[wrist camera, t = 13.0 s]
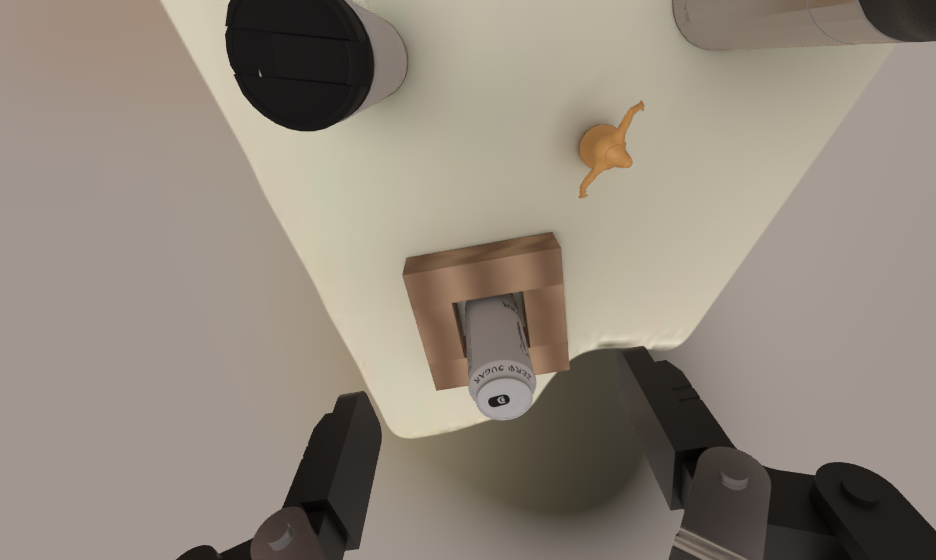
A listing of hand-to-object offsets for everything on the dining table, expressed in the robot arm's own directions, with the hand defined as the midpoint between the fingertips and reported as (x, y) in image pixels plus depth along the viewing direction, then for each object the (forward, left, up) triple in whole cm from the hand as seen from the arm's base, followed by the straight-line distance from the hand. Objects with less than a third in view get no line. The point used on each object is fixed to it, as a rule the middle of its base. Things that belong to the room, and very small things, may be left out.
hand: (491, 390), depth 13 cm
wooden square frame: (0, +17, -30) cm, 34 cm away
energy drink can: (0, +16, -30) cm, 35 cm away
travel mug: (+6, -10, -30) cm, 33 cm away
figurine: (-12, 0, -30) cm, 33 cm away
